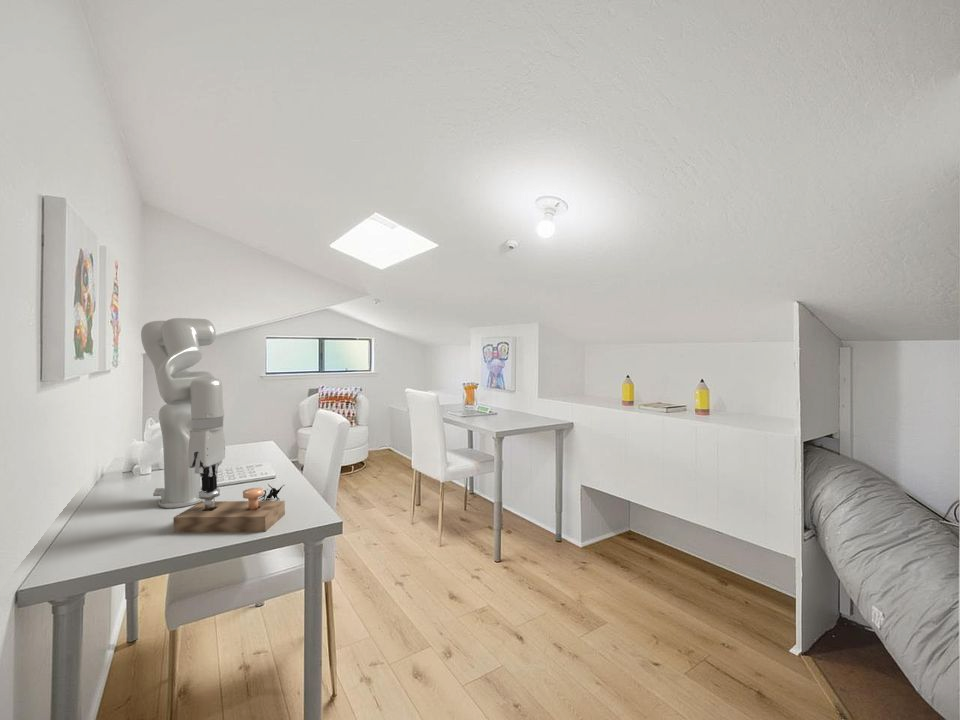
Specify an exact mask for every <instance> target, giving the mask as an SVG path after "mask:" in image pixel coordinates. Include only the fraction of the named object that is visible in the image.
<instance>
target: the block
mask: <svg viewBox="0 0 960 720" xmlns="http://www.w3.org/2000/svg"><path fill="white" fill-rule="evenodd" d="M285 505H286V504H285V500H280V501H279V500H278V501H277V500H267V501H264V500H258V510H250V511H249V504H248V500H239V501H234V500H229V501H228V500H227V501H226V500H225V501H215V509H214V510H213V511H205V501H201V502H199V503H196V504H193V505H192V506H191V507H189V508H188V509H186V510H184V511H182V512H180V513H178V514H177V515H175V516H174V517H173V519H172V520H173V533H239V532H240V533H242V532H243V533H251V532H253V533H255V532H256V533H257V532H258V533H259V532H263V533H265V532H267V531H268V530H269V529H271V527H272V526H274V525H275V524H276V523H277V522H279V520H280V519H282V518H283V517H284V516H285V515H286V512H285V511H286V508H285V507H286V506H285Z"/></svg>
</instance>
